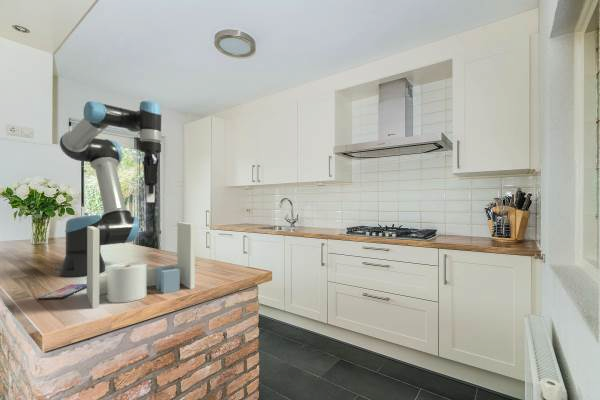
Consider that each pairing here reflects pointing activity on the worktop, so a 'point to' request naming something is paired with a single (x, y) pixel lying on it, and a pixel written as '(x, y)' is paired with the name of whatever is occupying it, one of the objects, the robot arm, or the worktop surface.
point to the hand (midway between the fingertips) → (150, 202)
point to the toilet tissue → (126, 281)
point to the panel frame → (184, 264)
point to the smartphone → (63, 292)
